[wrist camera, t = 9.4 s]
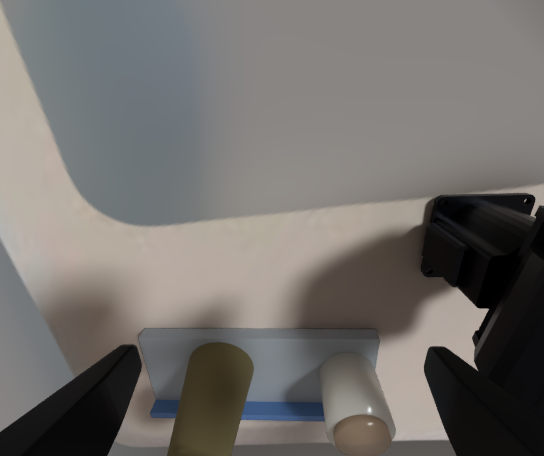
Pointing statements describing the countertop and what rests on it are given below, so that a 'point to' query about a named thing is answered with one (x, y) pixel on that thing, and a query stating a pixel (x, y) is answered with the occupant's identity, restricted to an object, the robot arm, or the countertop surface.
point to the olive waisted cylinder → (211, 401)
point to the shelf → (256, 366)
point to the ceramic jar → (355, 406)
